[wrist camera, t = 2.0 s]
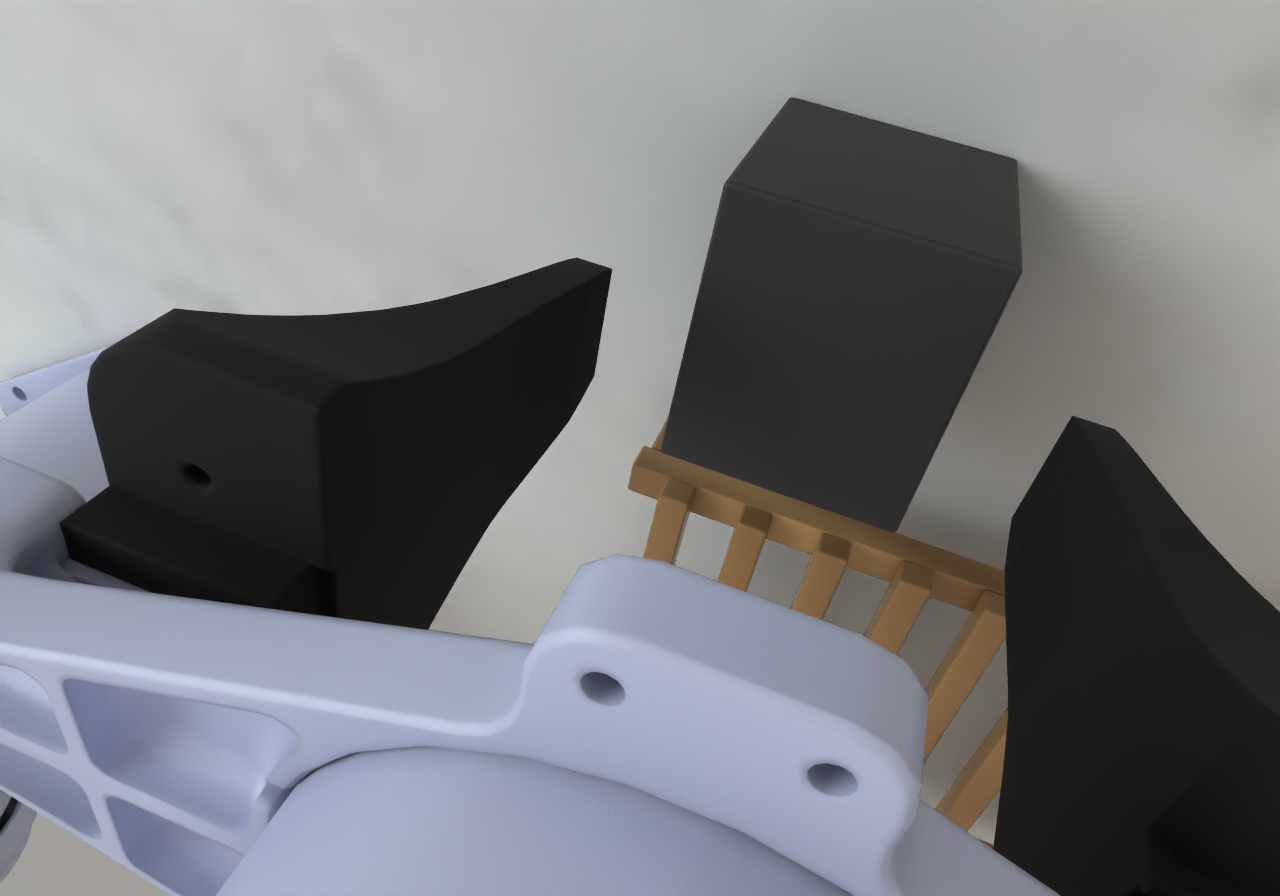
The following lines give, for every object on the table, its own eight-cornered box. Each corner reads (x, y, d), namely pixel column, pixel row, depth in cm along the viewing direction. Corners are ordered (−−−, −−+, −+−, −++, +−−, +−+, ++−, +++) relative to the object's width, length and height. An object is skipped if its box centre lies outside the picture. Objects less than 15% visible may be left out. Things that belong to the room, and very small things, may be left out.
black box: (727, 327, 20) (659, 454, 16) (789, 95, 17) (724, 180, 13) (916, 388, 20) (895, 536, 16) (1018, 158, 16) (1025, 269, 12)
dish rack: (604, 663, 28) (531, 817, 24) (664, 406, 22) (581, 550, 18) (1081, 850, 26) (1098, 1056, 22) (1299, 621, 20) (1384, 847, 15)
